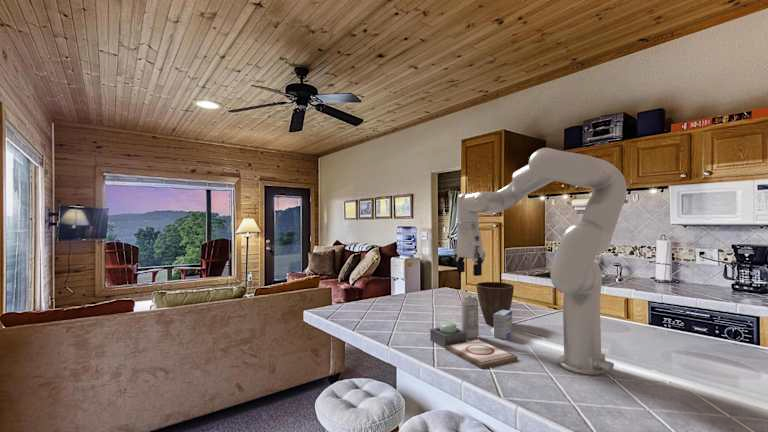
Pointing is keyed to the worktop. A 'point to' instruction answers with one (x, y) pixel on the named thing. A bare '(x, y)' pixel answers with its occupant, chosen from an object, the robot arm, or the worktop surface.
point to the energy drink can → (470, 316)
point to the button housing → (447, 337)
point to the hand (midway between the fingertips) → (468, 273)
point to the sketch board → (481, 353)
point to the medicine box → (502, 324)
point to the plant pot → (494, 298)
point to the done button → (447, 328)
